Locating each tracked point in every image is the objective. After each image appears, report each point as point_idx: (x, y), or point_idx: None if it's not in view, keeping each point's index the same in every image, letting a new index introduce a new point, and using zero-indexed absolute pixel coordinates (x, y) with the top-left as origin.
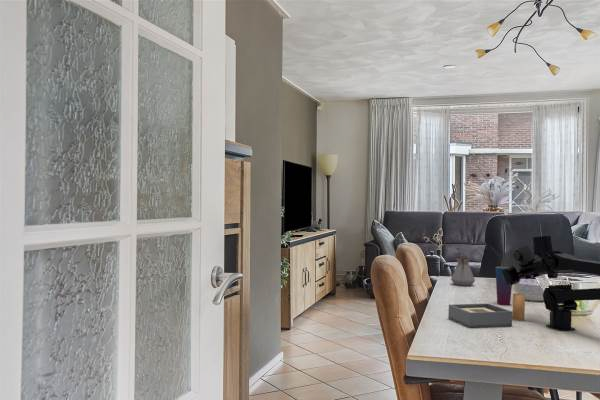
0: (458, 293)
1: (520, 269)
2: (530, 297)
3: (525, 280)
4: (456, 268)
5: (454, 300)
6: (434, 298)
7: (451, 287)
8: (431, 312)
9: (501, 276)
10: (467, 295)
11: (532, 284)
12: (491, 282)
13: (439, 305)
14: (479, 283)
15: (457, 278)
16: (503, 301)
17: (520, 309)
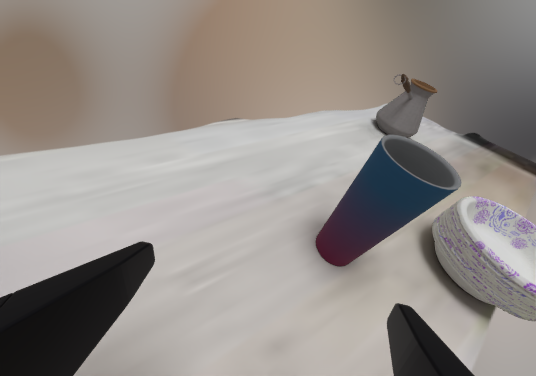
0: (327, 141)
1: (405, 329)
2: (454, 273)
3: (503, 213)
4: (398, 96)
5: (253, 154)
6: (235, 125)
7: (356, 124)
8: (3, 160)
9: (123, 254)
10: (329, 156)
11: (501, 263)
12: (454, 151)
13: (156, 148)
14: (428, 142)
15: (383, 114)
16: (325, 248)
17: None
